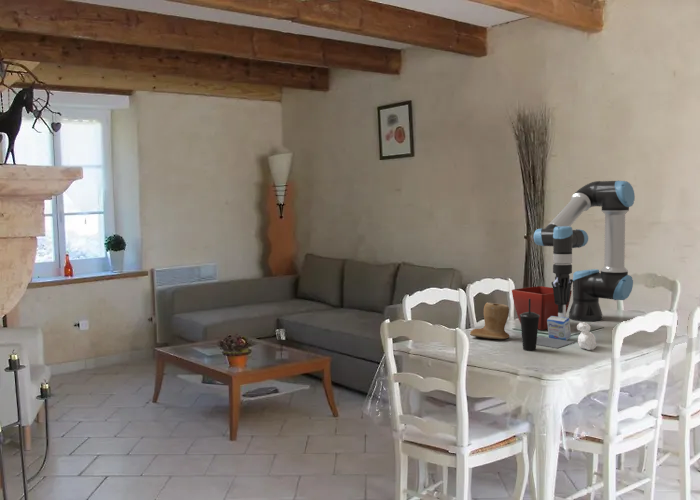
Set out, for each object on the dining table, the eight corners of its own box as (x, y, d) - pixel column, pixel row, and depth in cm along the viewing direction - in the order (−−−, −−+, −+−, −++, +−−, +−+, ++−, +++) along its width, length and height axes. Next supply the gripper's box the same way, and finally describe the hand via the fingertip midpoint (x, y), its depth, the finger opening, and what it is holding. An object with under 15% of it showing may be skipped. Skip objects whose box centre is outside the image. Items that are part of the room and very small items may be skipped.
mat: (539, 336, 290) (539, 336, 290) (574, 342, 279) (574, 341, 279) (522, 342, 282) (522, 341, 282) (557, 348, 270) (557, 347, 270)
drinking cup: (520, 351, 266) (520, 300, 264) (518, 347, 274) (518, 297, 272) (540, 351, 265) (541, 300, 263) (538, 347, 273) (538, 297, 271)
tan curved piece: (513, 336, 292) (513, 301, 291) (503, 342, 282) (503, 306, 281) (480, 333, 300) (480, 299, 299) (469, 338, 290) (469, 303, 289)
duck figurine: (589, 350, 275) (571, 326, 278) (605, 340, 272) (587, 316, 274) (583, 357, 265) (564, 332, 267) (599, 346, 261) (580, 322, 264)
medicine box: (548, 338, 287) (546, 319, 285) (553, 334, 290) (551, 315, 288) (566, 341, 282) (564, 321, 280) (571, 336, 285) (569, 317, 283)
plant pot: (539, 320, 324) (539, 285, 322) (572, 327, 308) (572, 290, 307) (510, 326, 314) (510, 289, 312) (543, 333, 298) (543, 294, 296)
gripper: (562, 261, 291) (562, 316, 293) (545, 264, 283) (545, 321, 285) (579, 263, 286) (578, 319, 288) (562, 265, 277) (561, 323, 279)
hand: (561, 320), depth 286 cm, fingers closed
